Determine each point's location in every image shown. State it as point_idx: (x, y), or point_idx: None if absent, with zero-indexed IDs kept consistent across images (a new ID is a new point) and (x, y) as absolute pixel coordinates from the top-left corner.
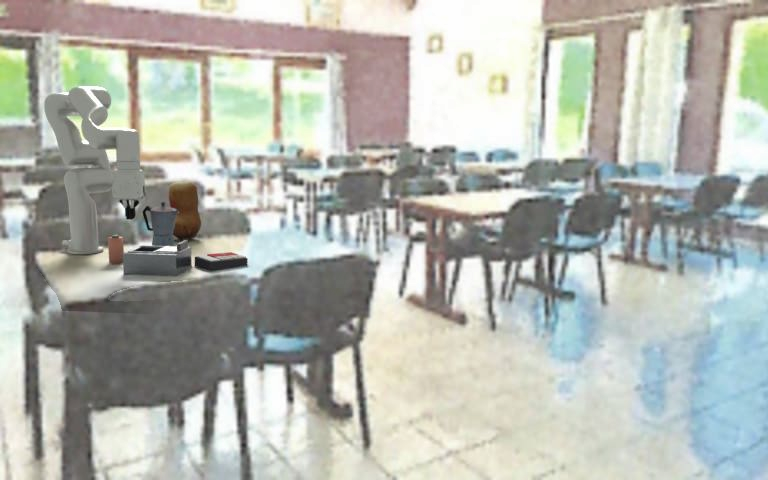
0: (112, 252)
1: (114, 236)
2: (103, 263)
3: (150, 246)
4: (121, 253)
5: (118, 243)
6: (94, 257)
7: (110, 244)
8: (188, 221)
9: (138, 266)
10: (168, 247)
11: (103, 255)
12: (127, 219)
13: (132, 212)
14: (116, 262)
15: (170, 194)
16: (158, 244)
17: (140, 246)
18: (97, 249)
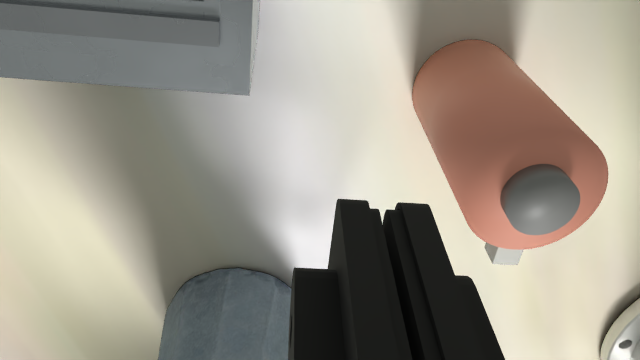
0: (511, 74)
1: (546, 175)
2: (553, 58)
3: (99, 9)
4: (438, 100)
5: (482, 124)
6: (632, 217)
7: (554, 107)
8: None
9: None
10: None
11: (584, 267)
12: (408, 207)
13: (319, 326)
14: (457, 47)
15: None
16: (236, 332)
17: (219, 19)
18: (634, 334)
